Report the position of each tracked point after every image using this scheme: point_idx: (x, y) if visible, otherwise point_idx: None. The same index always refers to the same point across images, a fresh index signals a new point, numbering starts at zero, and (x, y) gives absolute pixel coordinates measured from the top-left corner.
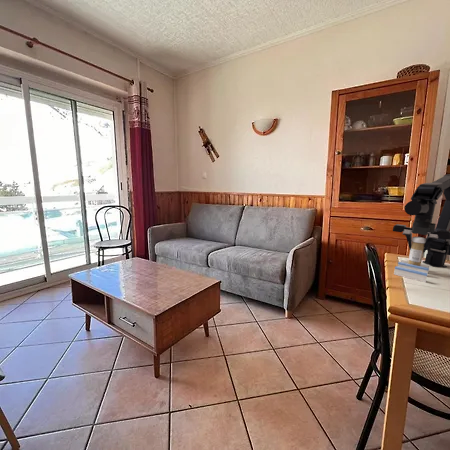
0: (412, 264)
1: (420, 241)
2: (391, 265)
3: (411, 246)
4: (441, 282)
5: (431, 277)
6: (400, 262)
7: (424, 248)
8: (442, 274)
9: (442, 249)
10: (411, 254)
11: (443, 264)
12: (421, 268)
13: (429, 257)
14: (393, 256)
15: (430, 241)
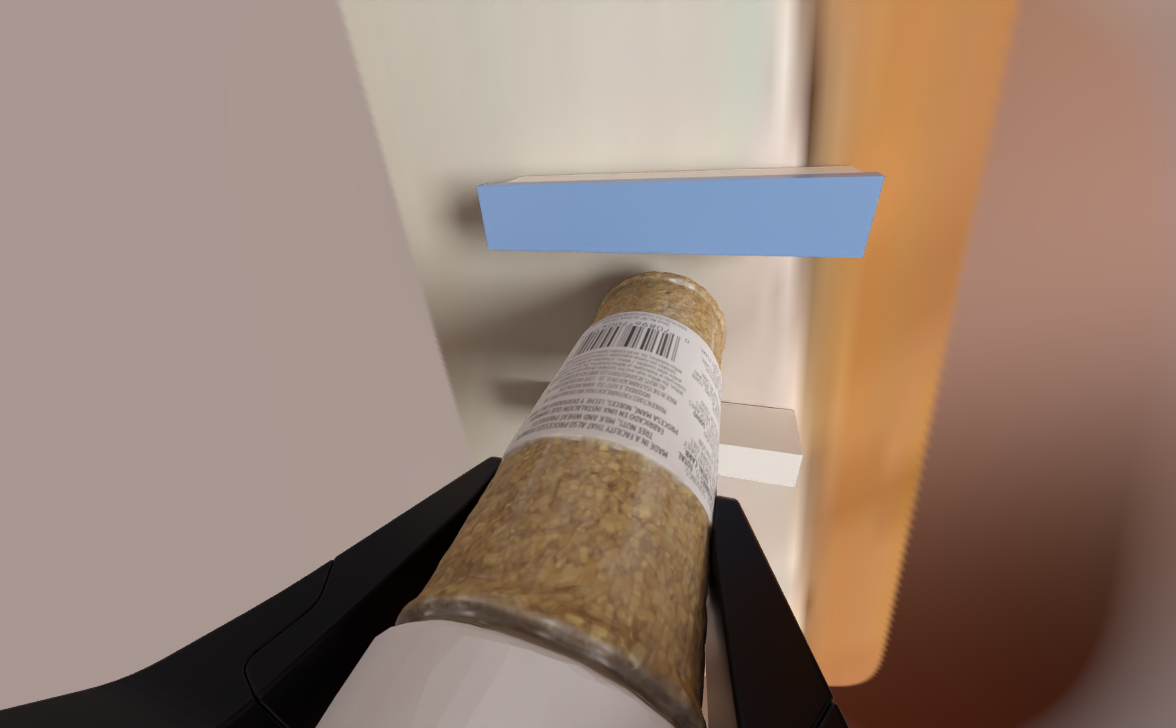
0: (666, 294)
1: (404, 684)
2: (909, 319)
3: (704, 562)
4: (386, 66)
5: None
6: (839, 228)
7: (452, 509)
8: (463, 377)
9: None
10: (688, 388)
11: None
12: (552, 184)
13: None
14: (837, 640)
15: (167, 685)
